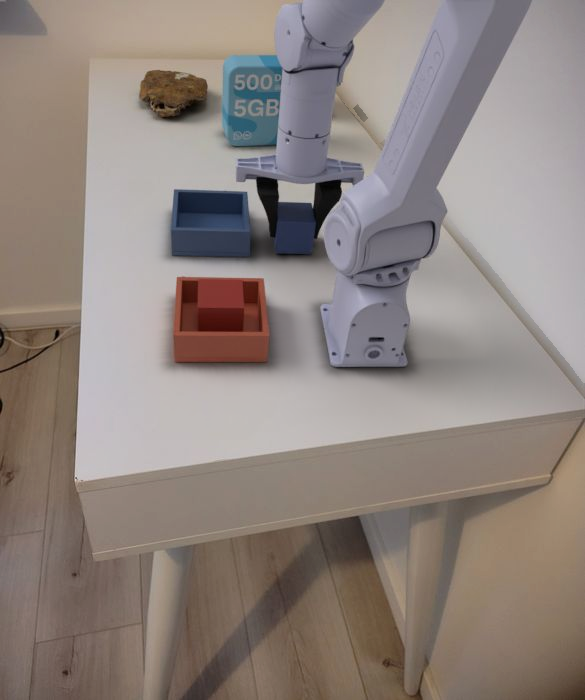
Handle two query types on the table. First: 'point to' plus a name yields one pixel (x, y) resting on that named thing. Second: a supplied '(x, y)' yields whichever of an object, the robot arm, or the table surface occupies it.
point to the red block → (220, 305)
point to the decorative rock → (171, 91)
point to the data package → (251, 99)
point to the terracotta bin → (220, 344)
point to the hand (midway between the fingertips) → (293, 233)
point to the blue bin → (210, 223)
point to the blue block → (294, 228)
